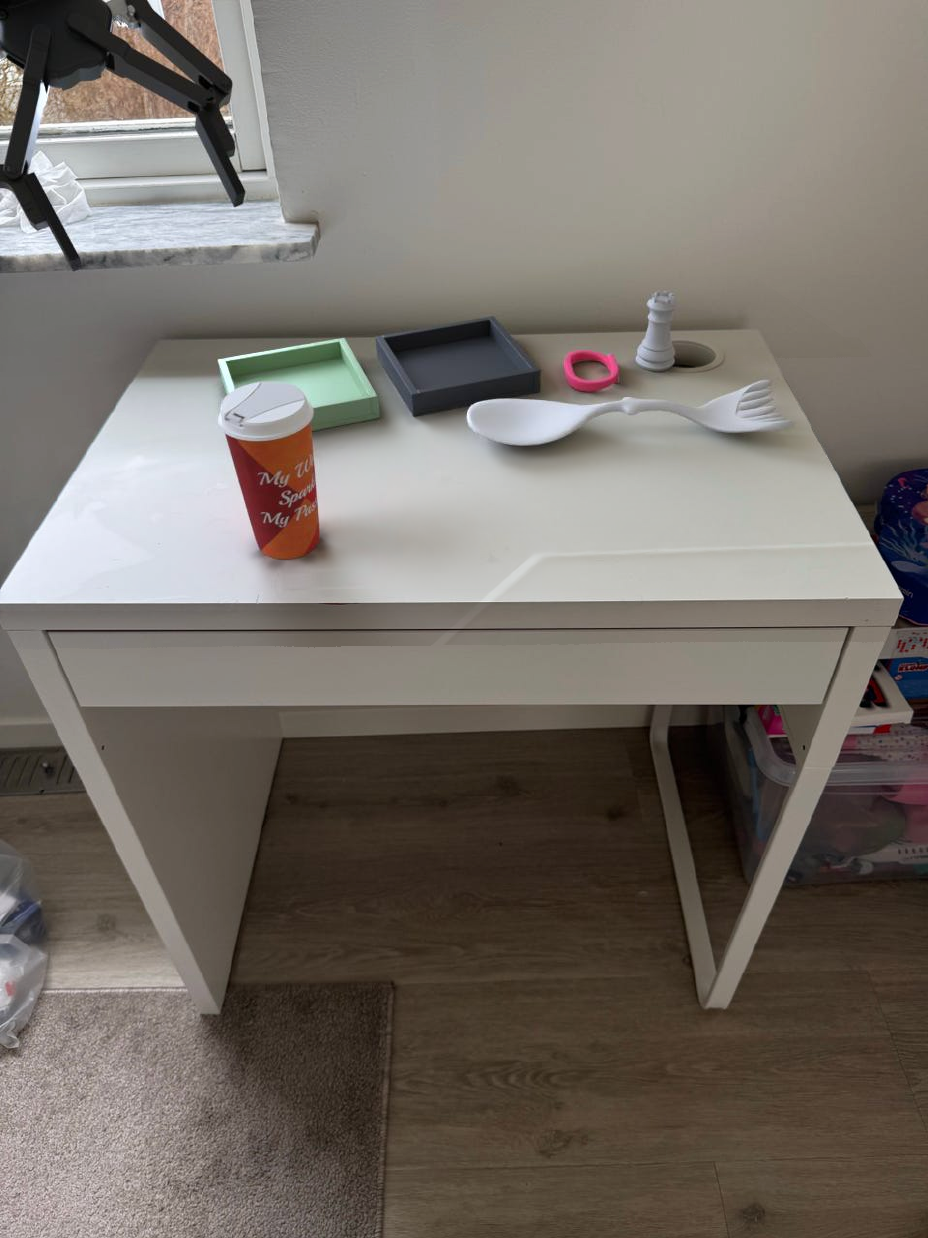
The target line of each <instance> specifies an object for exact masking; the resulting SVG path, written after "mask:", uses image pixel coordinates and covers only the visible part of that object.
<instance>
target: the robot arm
mask: <svg viewBox="0 0 928 1238" xmlns="http://www.w3.org/2000/svg"><path fill="white" fill-rule="evenodd" d="M115 22H121V23H123V24H124V25H125V26H126V28H128V29H129V30H132V31H134V30H136V29H137V31H138V33H139V34H140V35H141V36H142V38H144V39H145V41H147V42H148V43H149V44H150V45H151V46H152V47H153V48H154V49H156V50H157V51H158V52H159V53H160V54H161V55H162V56H163V57H164V58H166V59H167V60H168V61H170V63H171V64H173V65H174V66H175V67H176V69H178V70H180V71H181V72H182V73H183V74H184V75H185V76H186V77H185V76H183V75H181V74H179V73H178V72H176V71H174V70H172V69H171V68H168V67H167V66H166V65H163V64H162V63H160V62H158V61H156V60H155V59H153V58H151V57H149V56H148V55H146V54H144V53H142V52H140V51H139V50H136V49H135V48H133V47H132V46H131V45H130V43H129V42H128V41H126V40H125V39H124V38H122V37H120V36H118V35H116V34H115V33H113V32H114V23H115ZM5 58H6V60H7V61H9V62H10V63H11V64H13V65H15V66H16V67H18V68H20V69H21V70H23V73H22V83H21V88H20V92H19V93H20V94H19V98H18V102H17V106H16V111H15V115H14V119H13V124H12V129H11V133H10V136H9V142H8V145H7V150H6V154H5V158H4V163H0V189H5V190H8V191H10V192H12V194H13V195H14V197H15V198H16V200H17V202H18V204H19V205H20V208H21V210H22V211H23V213H24V215H25V216H26V217H25V218H26V219H27V220H28V223H29V224H30V226H31V227H32V228H33V229H34V230H35V231H37V232H39V231H42V230H44V229H47V228H49V230H50V231H51V233H52V235H53V237H54V238H55V241H56V242H57V244H58V246H59V248H60V250H61V252H62V254H63V256H64V258H65V259H66V261H67V263H68V265H69V267H70V269H71V270H72V272H76V271H79V270H81V269H83V264H82V261H81V257H80V255H79V254H78V251H77V250H76V248H75V246H74V244H73V242H72V240H71V238H70V237H69V235H68V232H67V231H66V229H65V227H64V225H63V223H62V222H61V220H60V218H59V215H58V214H57V212H56V210H55V208H54V206H53V204H52V203H51V201H50V199H49V197H48V195H47V193H46V192H45V189H44V187H43V186H42V184H41V182H40V180H39V179H38V175H36V173H35V171H33V172H30V168H31V165H32V159H33V154H34V151H35V147H36V142H37V139H38V134H39V130H40V125H41V121H42V117H43V113H44V108H45V106H46V104H47V101H48V97H49V92H50V87H51V88H54V89H61V91H63V92H64V91H67V90H70V89H73V88H74V87H76V86H77V85H79V84H80V83H81V82H94V81H95V80H99V79H101V78H102V74H103V73H104V72H105V71H106V70H107V71H108V72H110V73H111V74H113V75H115V76H118V77H119V78H121V79H128V80H130V81H132V83H135V84H137V85H139V86H141V87H143V88H144V89H146V90H148V91H150V92H151V93H153V94H155V95H157V96H159V97H161V98H162V99H164V100H166V101H168V102H169V103H172V105H173V104H174V105H175V106H177V107H178V108H180V109H183V110H184V111H186V112H188V113H190V114H191V115H193V116H195V121H194V129H195V131H196V134H197V135H198V137H199V139H200V142H201V144H202V145H203V147H204V150H205V151H206V154H207V155H208V157H209V159H210V162H211V164H212V166H213V167H214V169H215V172H216V173H217V175H218V177H219V180H220V183H221V184H222V186H223V187H224V190H225V192H226V194H227V195H228V198H229V200H230V202H231V204H232V206H233V208H237V207H240V206H241V205H243V204H244V200H245V196H246V189H245V188H244V185H243V183H242V181H241V179H240V177H239V176H238V173H237V171H236V169H235V167H234V165H233V162H232V161H231V158H232V157H235V152H236V141H235V139H234V136H233V134H232V133H231V131H230V129H229V127H228V125H227V123H226V121H225V119H224V116H223V114H222V111H221V109H222V108H223V107H224V106H228V105H229V104H230V102H231V100H232V99H231V98H232V93H233V79H232V78H231V77H230V76H229V75H228V74H227V73H226V72H225V71H223V70H222V69H221V68H220V67H219V66H217V64H215V63H214V62H213V61H211V59H210V58H209V57H208V56H206V55H205V54H204V53H203V52H202V51H201V50H199V49H198V48H197V47H196V46H195V45H194V44H193V43H192V42H191V41H189V40H188V38H186V37H185V36H184V35H183V34H181V33H180V32H179V31H178V30H177V29H175V27H173V25H171V24H170V22H168V21H167V20H166V19H164V17H162V16H161V15H160V14H159V13H158V12H157V11H156V10H154V8H153V7H152V5H151V4H150V2H149V1H148V0H107V1H105V0H0V62H1V61H2V60H3V59H5Z"/></svg>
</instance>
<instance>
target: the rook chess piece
mask: <svg viewBox="0 0 928 1238" xmlns="http://www.w3.org/2000/svg"><path fill="white" fill-rule="evenodd" d="M668 292H669V291H667V290H663V291H662V294H661V293H660V291H659V290H657V291H655V292H654V293H651V295H650V299H649V300H648V301H647V302H646V305H647V307H648V309H649V314H648V315H647V319H648V325H647V329H646V332H645V336H644V338H643V339H642V341H641V343H640V344H639V345H638V348H636V349H637V350H636V353H637V354H636V356H635V361H636V363H637V365H638V367H640V368H642V369H643V370H645V371H650V372H664V371H667V370H668V369H670V368H672V366H674V364H675V361H676V360H675V356H676V350H675V347H674V346H673V341H672V339H671V326H672V325H671V324H672V322H673V320H674V316H673V312H674V310H676V308H677V307H678V303H677V302H676V300H675V298H676V296H675V294H674V293H673V292H670V293H669V295H668Z"/></svg>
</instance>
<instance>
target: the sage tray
mask: <svg viewBox="0 0 928 1238" xmlns="http://www.w3.org/2000/svg"><path fill="white" fill-rule="evenodd" d="M217 363H218V368H219V372H220V377H221V381H222V384H223V387H224V391H225V393H226V396H227V395H228V394H229V393H230V392H232V391H234V390H235V389H237V388H239V387H242V386H245V385H248V384H252V383H257V382H283V383H288V384H291V385H293V386H295V387H297V388H299V389H300V390H301V391H302V392H303V393H304V394H305V396H306V399H307V400H308V401H309V402H310V403H311V405H312V407H313V410H314V414H313V417H312V420H311V430H312V432H314V431H319V430H320V431H321V430H324V429H329V428H336V427H340V426H346V425H350V424H355V423H360V422H366V421H370V420H377V419H380V418H381V417H380V415H381V414H380V405H379V396H378V395H377V392H376V391H375V389H374V388H373V385H372V384H371V382H370V380H369V378H368V377H367V375H366V373H365V371H364V369H363V368H362V366H361V364H360V362H359V361H358V359H357V357H356V355H355V353H354V352H353V350H352V349H351V347H350V345H349V343H348V341H347V340H346V338H345V337H341V338H335V339H329V340H324V341H323V340H322V341H318V342H311V343H305V344H300V345H299V344H298V345H293V346H289V347H281V348H276V349H271V350H264V351H259V352H254V353H248V354H242V355H236V356H235V355H234V356H230V357H224V358H218V359H217Z"/></svg>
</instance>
